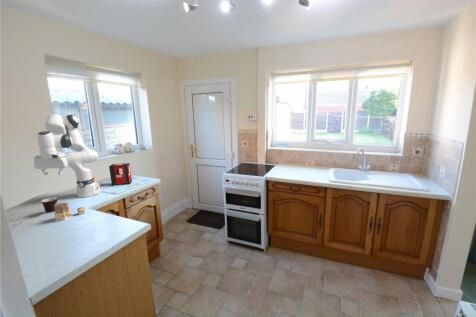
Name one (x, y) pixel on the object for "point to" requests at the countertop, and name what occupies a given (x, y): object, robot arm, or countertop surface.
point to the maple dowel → (80, 210)
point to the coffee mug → (49, 204)
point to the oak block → (63, 215)
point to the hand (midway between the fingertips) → (53, 174)
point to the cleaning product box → (120, 174)
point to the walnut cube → (61, 207)
